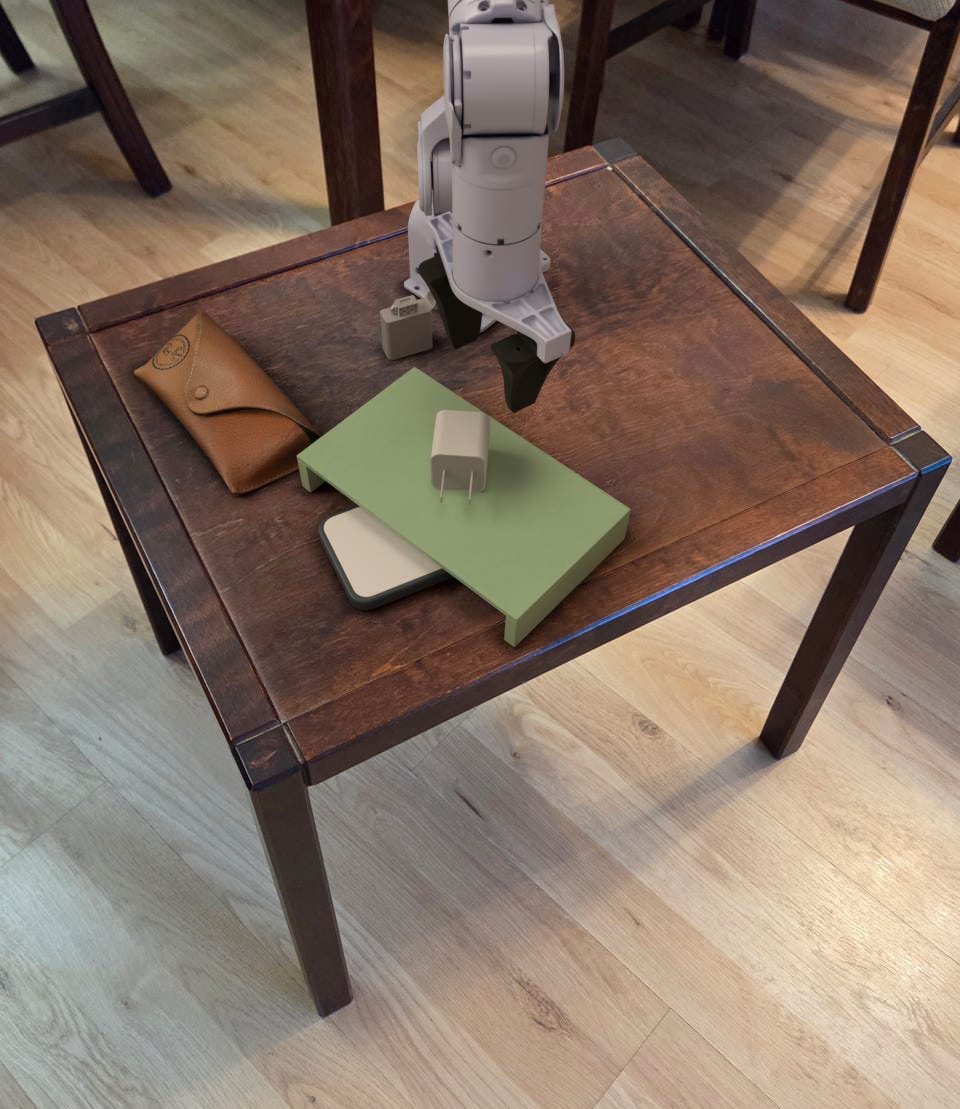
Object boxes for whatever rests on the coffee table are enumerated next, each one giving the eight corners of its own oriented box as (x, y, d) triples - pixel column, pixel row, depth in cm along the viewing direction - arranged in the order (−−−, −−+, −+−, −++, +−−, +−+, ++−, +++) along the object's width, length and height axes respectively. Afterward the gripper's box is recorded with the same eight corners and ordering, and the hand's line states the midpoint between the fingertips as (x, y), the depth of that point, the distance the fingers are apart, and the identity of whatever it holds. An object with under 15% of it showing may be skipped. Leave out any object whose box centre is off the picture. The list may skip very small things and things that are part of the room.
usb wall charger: (489, 449, 81) (490, 412, 77) (482, 520, 77) (483, 485, 73) (436, 445, 81) (436, 409, 78) (427, 516, 77) (426, 481, 74)
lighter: (389, 361, 91) (383, 288, 85) (382, 348, 92) (376, 275, 86) (464, 339, 93) (464, 266, 87) (456, 326, 94) (456, 253, 88)
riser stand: (302, 486, 83) (296, 455, 80) (416, 398, 89) (414, 366, 86) (514, 648, 75) (516, 620, 72) (624, 539, 80) (631, 509, 77)
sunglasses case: (124, 370, 89) (143, 301, 86) (195, 370, 95) (216, 305, 91) (235, 501, 81) (262, 430, 78) (306, 493, 87) (334, 426, 83)
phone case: (357, 620, 76) (553, 541, 80) (355, 608, 75) (554, 529, 79) (314, 532, 81) (501, 461, 85) (311, 519, 79) (501, 448, 83)
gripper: (618, 257, 64) (595, 412, 75) (486, 140, 71) (483, 297, 82) (523, 299, 62) (513, 452, 73) (396, 173, 69) (405, 330, 80)
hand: (492, 373), depth 77 cm, fingers open, 7 cm apart
